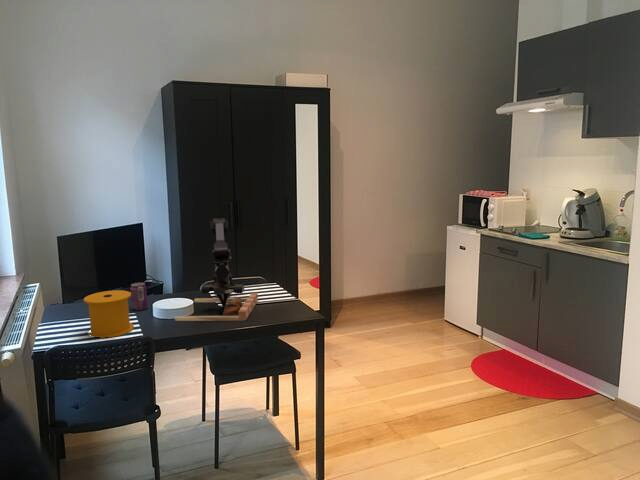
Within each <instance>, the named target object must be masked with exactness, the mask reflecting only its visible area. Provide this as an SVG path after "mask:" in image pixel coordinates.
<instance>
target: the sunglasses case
mask: <svg viewBox="0 0 640 480" xmlns="http://www.w3.org/2000/svg"><path fill="white" fill-rule="evenodd" d="M234 298H235V299H233V300H232V301H230V302H226V306H225V307H224V310H223V312H222V316H238V311H239V310H240V308H241V307H242V306H243V302H242V300H241V298H242V297H240V296H237V297H234Z"/></svg>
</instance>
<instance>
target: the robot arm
mask: <svg viewBox="0 0 640 480" xmlns="http://www.w3.org/2000/svg"><path fill="white" fill-rule="evenodd" d="M228 228H229V221H228V219H226V218H224V217H223V218H212V220H210V229H212V233H213V235H214V236H215V242H214V244H213V249H212V250H211V251H212V264H213V265H214V266H215V269H214V273H213V283H214V284H204V285H203V286H202V287H201V294H209V293H210V292H213V295H214V296H215V298H219V299H220V301H221V302H220V304H221V305H222V308H225V306H226V303H228V302H227V299H228V298H231V297H230V296H232V293H234V294H243V293H244V291H245V285H244V283H243V284H235V285H234V286H232V285H233V275H232V274H231V272H230V269H229V264H230V263H231V261H232V251H231V249H230V248H228V247H229V245H228V243H227V242H226V241H225V235H226V233H227V232H228Z"/></svg>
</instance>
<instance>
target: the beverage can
mask: <svg viewBox="0 0 640 480" xmlns="http://www.w3.org/2000/svg"><path fill="white" fill-rule="evenodd" d="M129 290H130V291H129V292H130V293H131V297H130V300H131V301H130V302H131V309H132V310H134V311H143V310H145V309H147V308H148V307H149V306H148V305H149V304H148V295H147V294H148V293H147V291H148V290H147V286H146V283H145V282H133V283H132V284H130V289H129Z"/></svg>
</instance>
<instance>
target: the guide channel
mask: <svg viewBox="0 0 640 480" xmlns="http://www.w3.org/2000/svg"><path fill="white" fill-rule="evenodd" d="M258 296H259V295H258V292H251V293H250V294H249V296H248V297H240V298H241V300H242V307H241V308H240V310H239V311H238V315H176V316H175V317H174V321H175V322H185V321H186V322H195V321H197V322H198V321H199V322H201V321H206V322H207V321H209V322H211V321H214V322H218V321H221V322H222V321H223V322H224V321H226V322H227V321H228V322H229V321H234V322H235V321H236V322H237V321H239V322H240V321H242V322H243V321H247V319H248V317H249V316H250V314H251V313H252V311H253V310H254V307H255V306H256V305H257V303H258V302H259V297H258ZM235 298H236V297H229V298H228V299H227V302H226V303H229V302H230V301H232V300H233V299H235ZM193 301H194V303H221V301H220V299H219V298H216V297H214V298H213V297H211V298H210V297H209V298H207V297H202V298H201V297H200V298H199V297H198V298H197V297H196V298H194V299H193ZM243 301H245V302H243ZM257 301H258V302H257Z"/></svg>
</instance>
